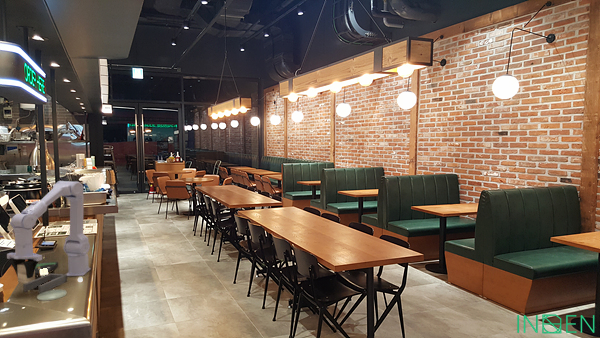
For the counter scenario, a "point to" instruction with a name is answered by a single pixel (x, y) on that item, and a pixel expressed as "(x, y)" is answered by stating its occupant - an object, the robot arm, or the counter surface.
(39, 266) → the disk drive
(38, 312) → the counter surface
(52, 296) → the saucer
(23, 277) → the maple block
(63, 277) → the slot rack
